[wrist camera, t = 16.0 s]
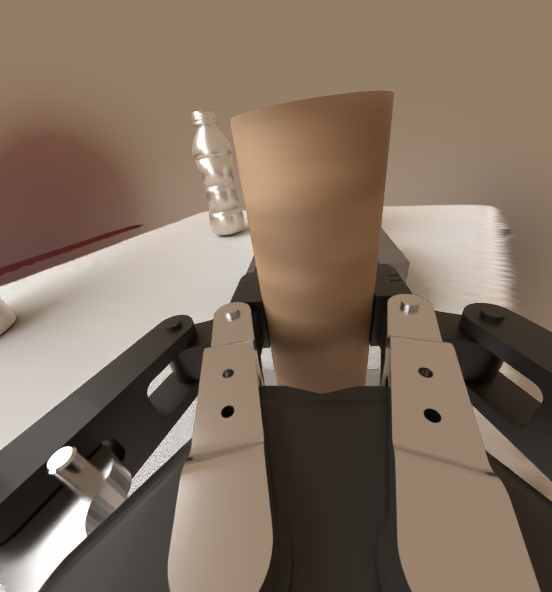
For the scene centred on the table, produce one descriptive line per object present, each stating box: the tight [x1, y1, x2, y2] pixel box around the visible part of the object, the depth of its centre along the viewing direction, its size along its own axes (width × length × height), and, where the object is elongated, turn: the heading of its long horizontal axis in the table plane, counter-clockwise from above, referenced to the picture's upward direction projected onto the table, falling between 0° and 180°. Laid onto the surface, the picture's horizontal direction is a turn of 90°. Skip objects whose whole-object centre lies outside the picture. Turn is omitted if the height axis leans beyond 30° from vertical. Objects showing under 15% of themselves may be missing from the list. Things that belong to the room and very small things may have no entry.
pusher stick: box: [230, 91, 394, 394], centre depth 10 cm, size 4×4×14 cm
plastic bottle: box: [191, 110, 244, 235], centre depth 45 cm, size 6×7×20 cm
